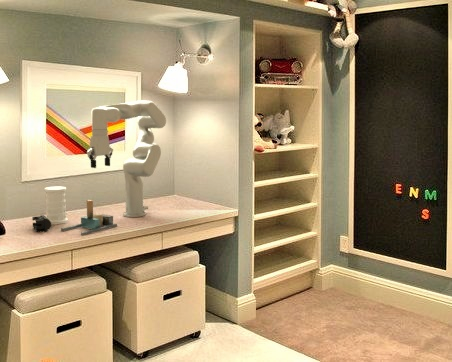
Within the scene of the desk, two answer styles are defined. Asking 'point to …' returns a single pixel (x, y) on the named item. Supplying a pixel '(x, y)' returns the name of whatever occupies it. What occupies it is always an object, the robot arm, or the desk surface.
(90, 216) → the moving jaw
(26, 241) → the desk surface
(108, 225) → the vise frame
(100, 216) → the beige cylinder
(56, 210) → the decorative container
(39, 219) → the end cap
